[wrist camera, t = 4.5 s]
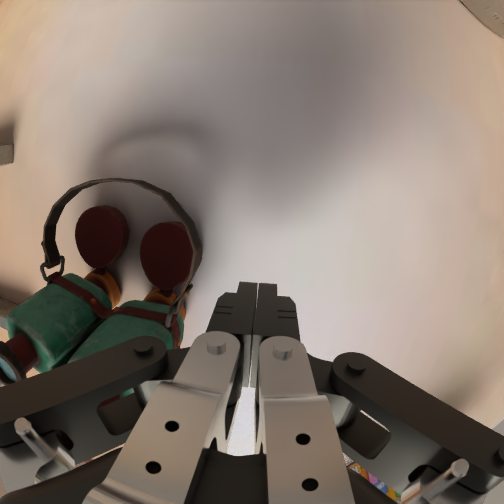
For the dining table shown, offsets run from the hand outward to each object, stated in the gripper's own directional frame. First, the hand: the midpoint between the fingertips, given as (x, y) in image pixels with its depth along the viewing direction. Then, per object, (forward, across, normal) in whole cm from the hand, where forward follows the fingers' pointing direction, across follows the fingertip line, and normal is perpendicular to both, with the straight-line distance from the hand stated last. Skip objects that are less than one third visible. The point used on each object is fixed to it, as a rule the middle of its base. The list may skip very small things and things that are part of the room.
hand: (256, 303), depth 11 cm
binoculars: (+4, +7, 0) cm, 9 cm away
